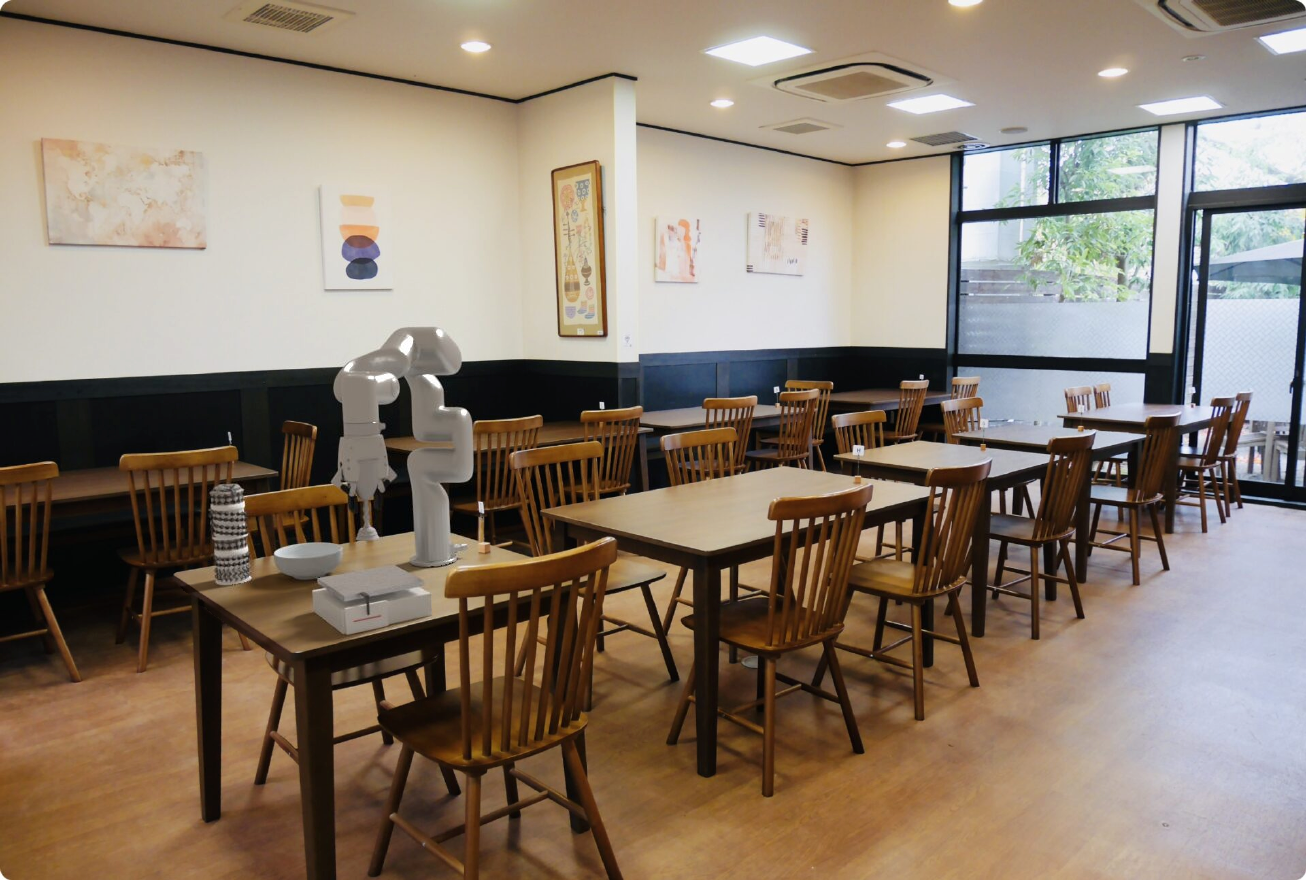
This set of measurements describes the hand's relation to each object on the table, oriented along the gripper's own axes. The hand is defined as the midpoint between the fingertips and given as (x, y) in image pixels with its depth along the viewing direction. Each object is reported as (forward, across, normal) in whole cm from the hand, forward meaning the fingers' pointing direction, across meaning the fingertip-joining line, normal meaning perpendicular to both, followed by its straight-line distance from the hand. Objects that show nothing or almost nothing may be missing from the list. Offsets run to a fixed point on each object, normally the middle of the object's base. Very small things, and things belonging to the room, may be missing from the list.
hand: (366, 510), depth 207 cm
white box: (+22, 0, +1) cm, 22 cm away
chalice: (+7, 0, 0) cm, 7 cm away
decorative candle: (+24, +18, -50) cm, 58 cm away
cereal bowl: (+24, +1, -42) cm, 49 cm away
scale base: (+24, 0, 0) cm, 24 cm away
